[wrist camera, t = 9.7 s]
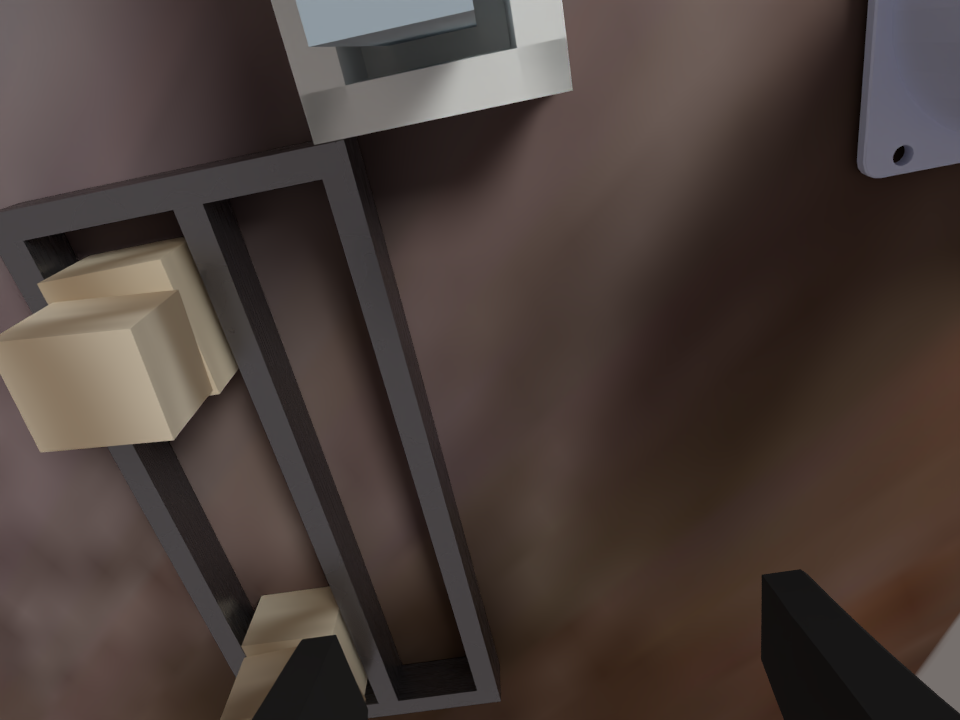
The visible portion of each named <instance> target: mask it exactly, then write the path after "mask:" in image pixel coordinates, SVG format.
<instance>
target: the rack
mask: <svg viewBox="0 0 960 720" xmlns="http://www.w3.org/2000/svg"><path fill="white" fill-rule="evenodd" d="M321 179H322V180H323V183H324V186H325V190H326V193H327V196H328V199H329V203H330V206H331V209H332V213H333V216H334V219H335V223H336V226H337V229H338V233H339V236H340V239H341V242H342V246H343V249H344V252H345V256H346V259H347V262H348V266H349V269H350V272H351V275H352V279H353V282H354V285H355V289H356V292H357V295H358V299H359V302H360V305H361V309H362V312H363V315H364V318H365V322H366V325H367V328H368V332H369V335H370V338H371V342H372V345H373V348H374V351H375V355H376V358H377V361H378V365H379V368H380V371H381V375H382V378H383V381H384V385H385V388H386V391H387V394H388V398H389V401H390V404H391V408H392V411H393V414H394V418H395V421H396V424H397V427H398V431H399V434H400V437H401V441H402V444H403V447H404V451H405V454H406V457H407V461H408V464H409V467H410V470H411V474H412V477H413V480H414V484H415V487H416V490H417V494H418V497H419V500H420V503H421V507H422V510H423V513H424V517H425V520H426V523H427V527H428V530H429V533H430V537H431V540H432V543H433V546H434V550H435V553H436V556H437V560H438V563H439V566H440V570H441V573H442V576H443V579H444V583H445V586H446V589H447V593H448V596H449V599H450V603H451V606H452V609H453V613H454V616H455V619H456V622H457V626H458V629H459V632H460V636H461V639H462V642H463V646H464V649H465V652H466V655H467V657H461V658H454V659H446V660H439V661H432V662H424V663H417V664H409V665H402V663H401V660H400V657H399V655H398V652H397V649H396V647H395V644H394V641H393V639H392V636H391V633H390V631H389V628H388V625H387V623H386V620H385V617H384V614H383V612H382V609H381V606H380V604H379V601H378V598H377V596H376V593H375V590H374V588H373V585H372V582H371V580H370V577H369V574H368V572H367V569H366V566H365V564H364V561H363V558H362V556H361V553H360V550H359V548H358V545H357V542H356V540H355V537H354V534H353V532H352V529H351V526H350V524H349V521H348V518H347V516H346V513H345V510H344V507H343V505H342V502H341V499H340V497H339V494H338V491H337V489H336V486H335V483H334V481H333V478H332V475H331V473H330V470H329V467H328V465H327V462H326V459H325V457H324V454H323V451H322V449H321V446H320V443H319V441H318V438H317V435H316V433H315V430H314V427H313V425H312V422H311V419H310V417H309V414H308V411H307V409H306V406H305V403H304V400H303V398H302V395H301V392H300V390H299V387H298V384H297V382H296V379H295V376H294V374H293V371H292V368H291V366H290V363H289V360H288V358H287V355H286V352H285V350H284V347H283V344H282V342H281V339H280V336H279V334H278V331H277V328H276V326H275V323H274V320H273V318H272V315H271V312H270V310H269V307H268V304H267V302H266V299H265V296H264V293H263V291H262V288H261V285H260V283H259V280H258V277H257V275H256V272H255V269H254V267H253V264H252V261H251V259H250V256H249V253H248V251H247V248H246V245H245V243H244V240H243V237H242V235H241V232H240V229H239V227H238V224H237V221H236V219H235V216H234V213H233V211H232V208H231V205H230V203H229V200H228V199H229V198H234V197H239V196H243V195H248V194H253V193H258V192H263V191H268V190H273V189H277V188H282V187H287V186H292V185H297V184H302V183H307V182H311V181H316V180H321ZM170 210H173V211H174V213H175V216H176V218H177V220H178V223H179V225H180V228H181V230H182V232H183V235H184V237H185V240H186V242H187V244H188V247H189V249H190V252H191V254H192V256H193V259H194V261H195V264H196V266H197V268H198V271H199V273H200V276H201V278H202V280H203V283H204V285H205V288H206V290H207V292H208V295H209V297H210V300H211V302H212V304H213V307H214V309H215V312H216V314H217V317H218V319H219V321H220V324H221V326H222V329H223V331H224V333H225V336H226V338H227V341H228V343H229V345H230V348H231V350H232V353H233V355H234V357H235V360H236V362H237V365H238V367H239V369H240V372H241V374H242V377H243V379H244V381H245V384H246V386H247V389H248V391H249V393H250V396H251V398H252V401H253V403H254V405H255V408H256V410H257V413H258V415H259V417H260V420H261V422H262V425H263V427H264V429H265V432H266V434H267V437H268V439H269V441H270V444H271V446H272V449H273V451H274V453H275V456H276V458H277V461H278V463H279V465H280V468H281V470H282V473H283V475H284V477H285V480H286V482H287V485H288V487H289V490H290V492H291V494H292V497H293V499H294V502H295V504H296V506H297V509H298V511H299V514H300V516H301V518H302V521H303V523H304V526H305V528H306V530H307V533H308V535H309V538H310V540H311V542H312V545H313V547H314V550H315V552H316V554H317V557H318V559H319V562H320V564H321V566H322V569H323V571H324V574H325V576H326V578H327V581H328V583H329V586H330V588H331V590H332V593H333V595H334V598H335V600H336V602H337V605H338V607H339V610H340V612H341V614H342V617H343V619H344V622H345V624H346V626H347V629H348V631H349V634H350V636H351V638H352V641H353V643H354V646H355V648H356V650H357V653H358V655H359V658H360V660H361V663H362V665H363V667H364V670H365V672H366V675H367V677H368V679H367V684H366V690H365V695H364V696H365V698H366V701H365V703H366V706H367V708H368V718H374V717H381V716H389V715H397V714H405V713H413V712H421V711H428V710H436V709H444V708H452V707H460V706H468V705H475V704H483V703H491V702H499V701H501V689H500V665H499V661H498V657H497V654H496V650H495V646H494V642H493V639H492V635H491V631H490V628H489V624H488V620H487V617H486V613H485V609H484V606H483V602H482V598H481V594H480V591H479V587H478V583H477V580H476V576H475V572H474V569H473V565H472V561H471V557H470V554H469V550H468V546H467V543H466V539H465V535H464V532H463V528H462V524H461V521H460V517H459V513H458V509H457V506H456V502H455V498H454V495H453V491H452V487H451V484H450V480H449V476H448V472H447V469H446V465H445V461H444V458H443V454H442V450H441V447H440V443H439V439H438V435H437V432H436V428H435V424H434V421H433V417H432V413H431V410H430V406H429V402H428V399H427V395H426V391H425V387H424V384H423V380H422V376H421V373H420V369H419V365H418V362H417V358H416V354H415V350H414V347H413V343H412V339H411V336H410V332H409V328H408V325H407V321H406V317H405V314H404V310H403V306H402V302H401V299H400V295H399V291H398V288H397V284H396V280H395V277H394V273H393V269H392V265H391V262H390V258H389V254H388V251H387V247H386V243H385V240H384V236H383V232H382V228H381V225H380V221H379V217H378V214H377V210H376V206H375V203H374V199H373V195H372V192H371V188H370V184H369V180H368V177H367V173H366V169H365V166H364V162H363V158H362V155H361V151H360V147H359V143H358V140H357V136H354V137H350V138H345V139H340V140H335V141H331V142H326V143H321V144H316V145H314V143H313V141H310V142H305V143H301V144H296V145H291V146H286V147H282V148H277V149H272V150H268V151H263V152H258V153H253V154H249V155H244V156H239V157H234V158H230V159H225V160H220V161H215V162H211V163H206V164H201V165H197V166H192V167H187V168H182V169H178V170H173V171H168V172H163V173H159V174H154V175H149V176H145V177H140V178H135V179H130V180H126V181H121V182H116V183H111V184H107V185H102V186H97V187H93V188H88V189H83V190H78V191H74V192H69V193H64V194H59V195H55V196H50V197H45V198H41V199H36V200H31V201H26V202H22V203H18V204H15V205H12V206H9V207H6V208H3V209H0V256H1V258H2V259H3V261H4V263H5V265H6V266H7V268H8V270H9V272H10V274H11V275H12V277H13V279H14V281H15V283H16V284H17V286H18V288H19V290H20V292H21V293H22V295H23V297H24V299H25V301H26V302H27V304H28V306H29V308H30V309H31V311H32V313H33V314H34V313H36V312H38V311H39V310H41V309H43V308H44V307H46V306H48V303H47V302H46V300H45V298H44V296H43V294H42V292H41V291H40V289H39V287H38V285H37V283H39V282H41V281H43V280H45V279H47V278H49V277H50V276H52V275H54V274H56V273H58V272H60V271H62V270H63V269H65V268H67V267H69V266H71V265H73V264H75V263H76V262H78V261H77V259H76V257H75V255H74V253H73V251H72V249H71V247H70V245H69V243H68V241H67V239H66V237H65V235H64V232H68V231H73V230H78V229H83V228H88V227H93V226H98V225H102V224H107V223H112V222H117V221H122V220H127V219H132V218H136V217H141V216H146V215H151V214H156V213H161V212H166V211H170ZM107 447H108V449H109V451H110V453H111V455H112V456H113V458H114V460H115V462H116V464H117V465H118V467H119V469H120V471H121V473H122V474H123V476H124V478H125V480H126V481H127V483H128V485H129V487H130V489H131V490H132V492H133V494H134V496H135V498H136V499H137V501H138V503H139V505H140V507H141V508H142V510H143V512H144V514H145V516H146V517H147V519H148V521H149V523H150V524H151V526H152V528H153V530H154V532H155V533H156V535H157V537H158V539H159V541H160V542H161V544H162V546H163V548H164V550H165V551H166V553H167V555H168V557H169V558H170V560H171V562H172V564H173V566H174V567H175V569H176V571H177V573H178V575H179V576H180V578H181V580H182V582H183V584H184V585H185V587H186V589H187V591H188V593H189V594H190V596H191V598H192V600H193V601H194V603H195V605H196V607H197V609H198V610H199V612H200V614H201V616H202V618H203V619H204V621H205V623H206V625H207V627H208V628H209V630H210V632H211V634H212V636H213V637H214V639H215V641H216V643H217V644H218V646H219V648H220V650H221V652H222V653H223V655H224V657H225V659H226V661H227V662H228V664H229V666H230V668H231V670H232V671H233V673H234V675H235V677H237V675H238V672H239V670H240V667H241V664H242V662H243V659H244V658H245V657H247V656H246V655H245V653H244V651H243V649H242V647H241V646H242V643H243V641H244V638H245V636H246V633H247V631H248V628H249V626H250V623H251V621H252V618H253V616H254V611H253V609H252V607H251V605H250V603H249V601H248V599H247V597H246V595H245V593H244V591H243V589H242V587H241V585H240V583H239V581H238V579H237V577H236V575H235V573H234V571H233V569H232V567H231V565H230V563H229V561H228V559H227V557H226V555H225V553H224V551H223V549H222V547H221V545H220V543H219V541H218V539H217V537H216V535H215V533H214V531H213V529H212V527H211V525H210V523H209V521H208V519H207V517H206V515H205V513H204V511H203V509H202V507H201V505H200V503H199V501H198V499H197V497H196V495H195V493H194V491H193V489H192V487H191V485H190V483H189V481H188V479H187V477H186V475H185V473H184V471H183V469H182V467H181V465H180V463H179V462H178V460H177V458H176V456H175V454H174V452H173V450H172V448H171V446H170V444H169V442H168V441H161V442H150V443H139V444H128V445H117V446H107Z"/></svg>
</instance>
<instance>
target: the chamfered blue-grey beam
mask: <svg viewBox="0 0 960 720" xmlns="http://www.w3.org/2000/svg"><path fill="white" fill-rule="evenodd" d="M296 4H297V7H298V11H299V14H300V18H301V21H302V25H303V28H304V32H305V35H306V39H307V42H308V46H309V47H346V46H391V45H395V44H400V43H404V42H408V41H413V40H417V39H422V38H426V37H431V36H435V35H440V34H444V33H449V32H453V31H458V30H462V29H467V28H471V27H476V26H477V24H476V18H475V12H474V6H473V0H296Z"/></svg>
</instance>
